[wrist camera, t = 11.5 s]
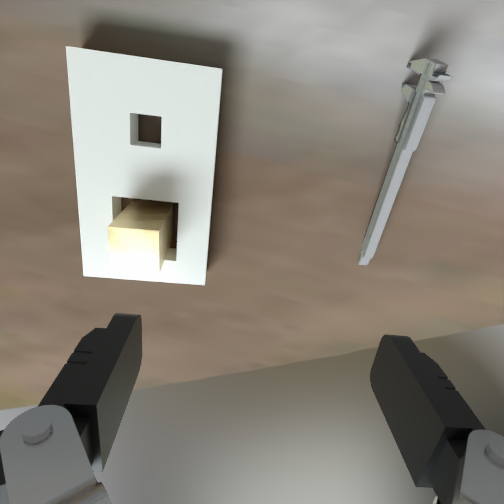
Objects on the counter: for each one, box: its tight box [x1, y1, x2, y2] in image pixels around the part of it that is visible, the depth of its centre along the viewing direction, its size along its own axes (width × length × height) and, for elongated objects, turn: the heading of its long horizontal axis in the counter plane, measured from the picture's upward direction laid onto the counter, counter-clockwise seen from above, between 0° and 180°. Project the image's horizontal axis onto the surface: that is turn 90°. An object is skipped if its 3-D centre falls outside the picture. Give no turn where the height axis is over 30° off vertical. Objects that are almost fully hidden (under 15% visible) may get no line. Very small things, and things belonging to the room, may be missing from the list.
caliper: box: [358, 58, 452, 265], centre depth 33 cm, size 20×1×6 cm, turn 175°
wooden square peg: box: [108, 200, 173, 275], centre depth 32 cm, size 4×4×8 cm
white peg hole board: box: [66, 46, 223, 285], centre depth 33 cm, size 12×20×3 cm, turn 173°
